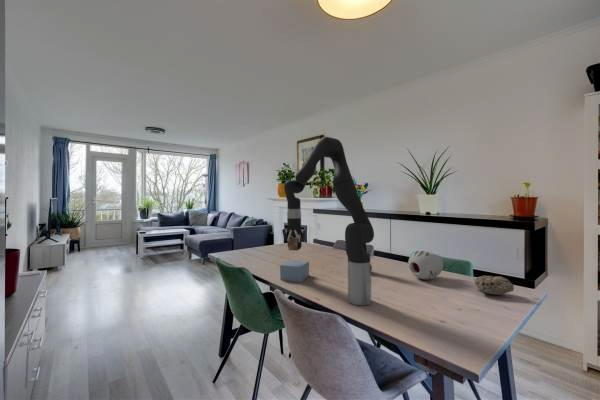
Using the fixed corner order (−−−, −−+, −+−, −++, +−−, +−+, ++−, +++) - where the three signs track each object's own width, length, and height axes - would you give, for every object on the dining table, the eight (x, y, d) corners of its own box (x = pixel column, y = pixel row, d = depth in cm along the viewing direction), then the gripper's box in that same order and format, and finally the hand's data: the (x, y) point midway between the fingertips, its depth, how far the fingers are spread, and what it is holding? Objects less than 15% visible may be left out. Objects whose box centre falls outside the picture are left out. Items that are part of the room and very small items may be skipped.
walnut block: (300, 248, 149) (300, 237, 149) (297, 250, 145) (297, 239, 145) (292, 248, 151) (291, 237, 151) (288, 250, 146) (288, 238, 146)
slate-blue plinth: (309, 275, 152) (308, 261, 152) (301, 282, 141) (301, 266, 140) (289, 273, 156) (288, 259, 156) (280, 280, 145) (280, 265, 145)
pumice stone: (511, 293, 121) (511, 275, 121) (515, 302, 111) (515, 283, 110) (473, 287, 128) (473, 271, 128) (474, 296, 118) (474, 278, 117)
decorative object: (453, 280, 139) (453, 251, 139) (425, 285, 132) (425, 254, 132) (429, 272, 154) (428, 245, 153) (402, 276, 147) (402, 248, 146)
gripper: (279, 217, 146) (279, 248, 147) (304, 218, 141) (304, 250, 142) (284, 216, 153) (285, 246, 154) (308, 216, 148) (309, 247, 149)
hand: (294, 248), depth 148 cm, fingers closed on walnut block, 5 cm apart
